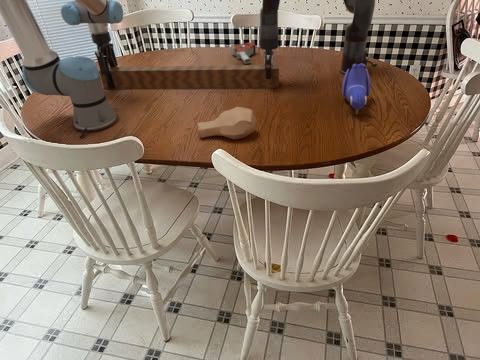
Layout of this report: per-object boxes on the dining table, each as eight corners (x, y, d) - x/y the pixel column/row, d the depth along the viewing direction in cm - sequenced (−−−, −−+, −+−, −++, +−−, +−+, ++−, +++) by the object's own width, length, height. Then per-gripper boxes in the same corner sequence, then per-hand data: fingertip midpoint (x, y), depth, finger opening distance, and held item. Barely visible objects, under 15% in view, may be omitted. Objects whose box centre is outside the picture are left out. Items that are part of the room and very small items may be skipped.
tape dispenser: (247, 68, 177) (266, 54, 190) (247, 57, 174) (266, 44, 186) (218, 62, 185) (238, 48, 197) (217, 52, 181) (238, 39, 194)
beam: (104, 88, 161) (98, 71, 156) (108, 84, 165) (103, 67, 160) (278, 87, 151) (278, 68, 146) (278, 83, 155) (279, 64, 150)
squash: (259, 140, 116) (255, 118, 110) (200, 150, 118) (193, 129, 112) (256, 120, 124) (253, 99, 117) (201, 130, 126) (194, 109, 119)
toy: (340, 103, 144) (343, 119, 122) (342, 60, 138) (346, 69, 115) (366, 103, 142) (373, 119, 120) (369, 59, 135) (378, 68, 113)
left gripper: (98, 37, 141) (114, 93, 155) (116, 26, 155) (129, 78, 169) (81, 38, 142) (98, 93, 155) (100, 27, 156) (114, 78, 170)
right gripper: (277, 40, 135) (277, 81, 145) (278, 30, 147) (278, 69, 156) (258, 40, 136) (258, 81, 146) (260, 31, 148) (261, 69, 157)
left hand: (114, 85), depth 162 cm, fingers closed on beam, 5 cm apart
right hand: (268, 75), depth 151 cm, fingers open, 8 cm apart
